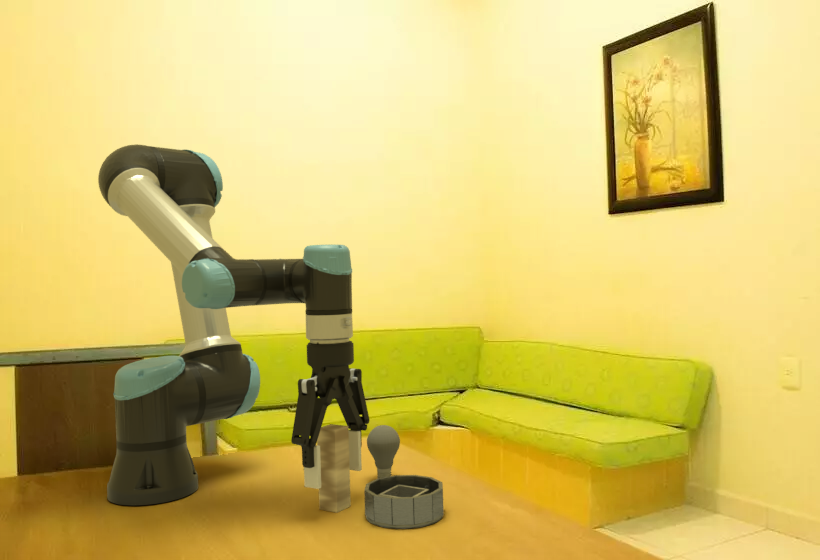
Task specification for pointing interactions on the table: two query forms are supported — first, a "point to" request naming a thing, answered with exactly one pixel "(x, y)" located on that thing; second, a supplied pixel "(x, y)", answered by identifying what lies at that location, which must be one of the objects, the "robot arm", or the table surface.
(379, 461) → the light bulb
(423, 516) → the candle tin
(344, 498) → the tan square post
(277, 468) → the table surface
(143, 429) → the robot arm
